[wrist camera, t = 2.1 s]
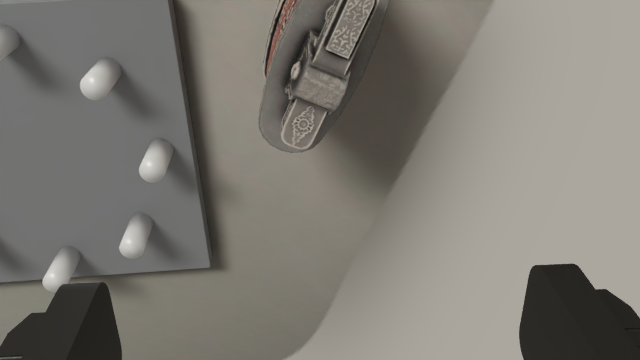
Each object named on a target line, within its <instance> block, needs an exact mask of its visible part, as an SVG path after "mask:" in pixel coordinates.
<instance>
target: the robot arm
mask: <svg viewBox="0 0 640 360" xmlns="http://www.w3.org/2000/svg"><path fill="white" fill-rule="evenodd" d="M519 339H520V347H521V352H522V355H523V358H524V360H640V318H639V317H638V316H637V314H636V313H635V311H634V310H633V309H632V308H631V307H630V306H629V305H628V304H626V303H625V302H623V301H622V300H621V299H619V298H618V297H616V296H615V295H613V294H612V293H611V292H609V291H608V290H606V289H599V290H595V288H594V287H593V285H592V284H591V283H590V282H589V280H588V279H587V277H586V276H585V275H584V273H583V272H582V270H581V269H580V268H579V267H578V266H577V265H575V264H555V265H535V266H533V267H532V269H531V271H530V274H529V278H528V284H527V289H526V295H525V301H524V306H523V312H522V317H521V323H520V331H519ZM0 360H122V350H121V343H120V338H119V334H118V329H117V325H116V320H115V315H114V311H113V306H112V302H111V297H110V293H109V289H108V287H107V285H106V284H105V283H104V282H100V283H76V284H62V285H61V286H60V287H59V288H58V290H57V292H56V294H55V296H54V297H53V299H52V301H51V303H50V305H49V307H48V309H47V311H46V312H45V313H31V314H30V315H29V316H28V317H26V318H25V319H24V320H23V321H22V322H21V323H19V324H18V325H17V326H16V327H15V328H14V329H13V330H11V331H10V332H9V333H8V334H7V336H6V338H5V339H4V341H3V343H2V345H1V346H0Z"/></svg>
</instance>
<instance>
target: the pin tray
mask: <svg viewBox="0 0 640 360" xmlns="http://www.w3.org/2000/svg"><path fill="white" fill-rule="evenodd" d="M211 261H212V249H211V243H210V236H209V230H208V224H207V217H206V211H205V204H204V198H203V191H202V185H201V179H200V172H199V166H198V159H197V153H196V146H195V140H194V134H193V127H192V121H191V114H190V108H189V101H188V95H187V89H186V82H185V76H184V69H183V63H182V56H181V50H180V44H179V37H178V31H177V24H176V18H175V11H174V5H173V0H0V282H13V281H27V280H42V279H43V281H42V283H43V286H44V287H45V288H46V289H47V290H49V291H51V292H55V293H56V292H57V290H58V288H59V287H60V286H61V285H62V284H68V283H69V281H70V279H71V277H84V276H98V275H113V274H127V273H141V272H155V271H169V270H184V269H198V268H210V267H211Z"/></svg>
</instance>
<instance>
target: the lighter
mask: <svg viewBox="0 0 640 360" xmlns="http://www.w3.org/2000/svg"><path fill="white" fill-rule="evenodd" d="M388 2H389V0H279V3H278V6H277V9H276V12H275V15H274V18H273V22H272V25H271V28H270V31H269V35H268V40H267V45H266V51H265V56H264V61H263V76H264V78H265V85H264V90H263V95H262V100H261V105H260V110H259V130H260V132H261V134H262V136H263V138H264V139H265V140H266V141H267V142H268V143H269V144H270V145H271V146H273V147H275V148H277V149H279V150H281V151H285V152H290V153H298V152H304V151H307V150H309V149H312V148H313V147H314V146H316V145H317V144H318V143H319V142H320V141H321V139H322V138H323V137H324V135H325V134H326V133H327V131H328V130H329V129H330V127H331V126H332V125H333V123H334V122H335V121H336V119H337V118H338V117H339V115H340V114H341V113H342V111H343V109H344V108H345V106H346V104H347V103H348V101H349V99H350V97H351V96H352V94H353V92H354V90H355V89H356V87H357V85H358V84H359V82H360V80H361V78H362V77H363V74H364V72H365V69H366V67H367V64H368V62H369V60H370V57H371V55H372V52H373V50H374V47H375V45H376V42H377V40H378V37H379V34H380V31H381V27H382V23H383V20H384V16H385V13H386V9H387V5H388Z"/></svg>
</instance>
